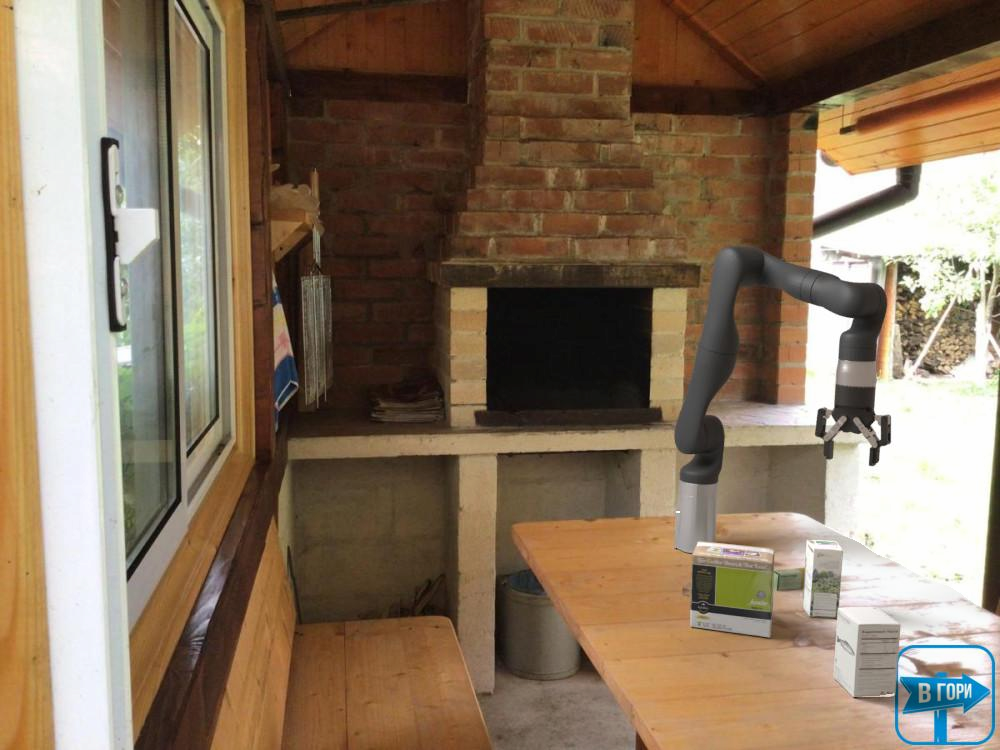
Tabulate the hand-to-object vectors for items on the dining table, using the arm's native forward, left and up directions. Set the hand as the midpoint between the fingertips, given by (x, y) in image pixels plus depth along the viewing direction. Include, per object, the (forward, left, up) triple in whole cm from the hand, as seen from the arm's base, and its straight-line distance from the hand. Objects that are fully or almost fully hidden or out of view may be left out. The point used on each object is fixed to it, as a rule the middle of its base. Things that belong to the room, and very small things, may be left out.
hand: (850, 462), depth 178 cm
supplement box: (+9, -37, -30) cm, 48 cm away
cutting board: (-23, -7, -30) cm, 38 cm away
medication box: (-10, +7, -31) cm, 33 cm away
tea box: (-17, -22, -30) cm, 41 cm away
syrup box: (-3, -7, -30) cm, 31 cm away
